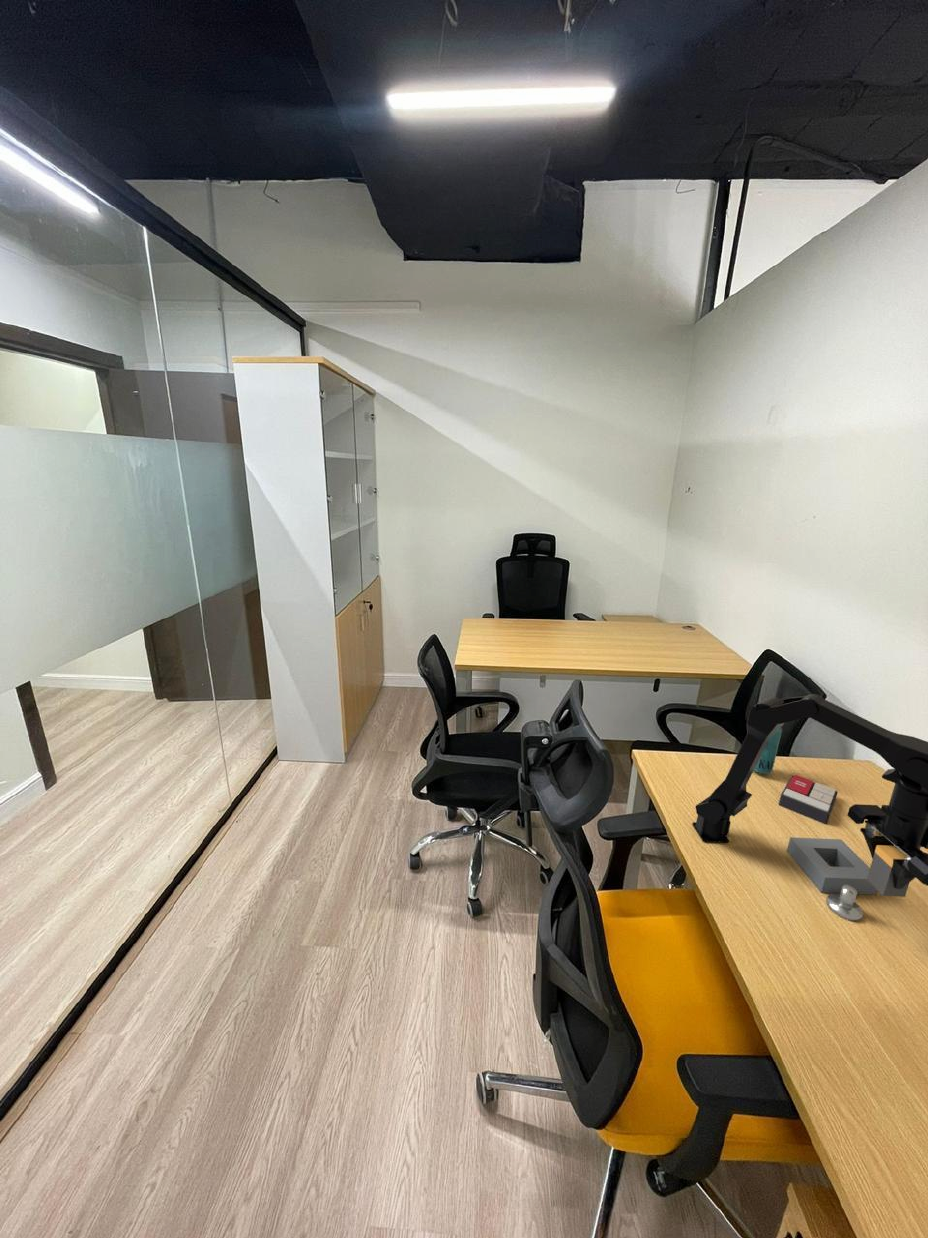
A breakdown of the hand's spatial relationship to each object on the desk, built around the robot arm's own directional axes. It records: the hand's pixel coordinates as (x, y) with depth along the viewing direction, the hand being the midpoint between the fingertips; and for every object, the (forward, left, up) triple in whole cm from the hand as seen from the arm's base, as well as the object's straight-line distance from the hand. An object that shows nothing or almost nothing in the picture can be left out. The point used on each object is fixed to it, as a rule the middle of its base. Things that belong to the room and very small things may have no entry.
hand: (888, 879), depth 92 cm
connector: (0, 0, -2) cm, 2 cm away
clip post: (-2, +5, -13) cm, 14 cm away
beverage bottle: (+8, +54, -13) cm, 56 cm away
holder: (+2, +15, -13) cm, 20 cm away
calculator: (+14, +40, -13) cm, 45 cm away
